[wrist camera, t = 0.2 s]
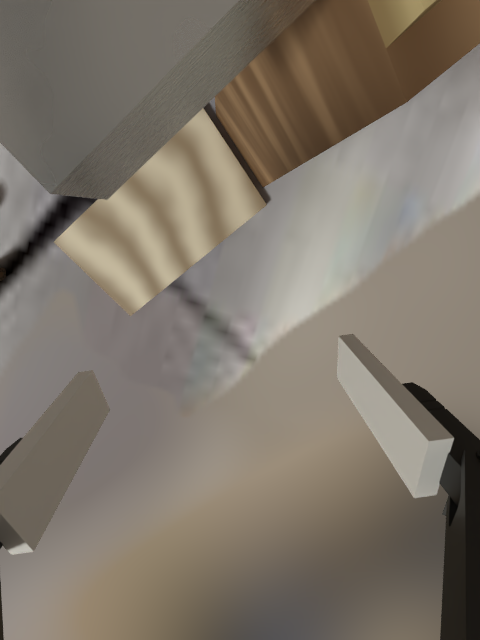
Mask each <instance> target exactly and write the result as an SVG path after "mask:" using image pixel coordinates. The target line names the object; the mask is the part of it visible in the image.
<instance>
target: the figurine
mask: <svg viewBox="0 0 480 640" xmlns="http://www.w3.org/2000/svg"><path fill="white" fill-rule="evenodd" d="M5 277H6V271H5V269H4V268H1V267H0V281H1V280H3V279H4V278H5Z"/></svg>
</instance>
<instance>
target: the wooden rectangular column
mask: <svg viewBox="0 0 480 640" xmlns="http://www.w3.org/2000/svg"><path fill="white" fill-rule="evenodd" d="M479 43H480V0H316V1H314V2H313V3H312V4H311V5H310V6H309V7H308V8H307V9H306V10H305V11H304V12H303V13H302V14H301V15H300V16H299V17H298V18H297V19H296V20H295V21H294V22H293V23H291V24H290V25H289V26H288V27H287V28H286V29H285V30H284V31H283V32H282V33H281V34H280V35H279V36H278V37H277V38H276V39H275V40H274V41H273V42H272V43H271V44H270V45H268V46H267V47H266V48H265V49H264V50H263V51H262V52H261V53H260V54H259V55H258V56H257V57H256V58H255V59H254V60H253V61H252V62H251V63H250V64H249V65H248V66H247V67H245V68H244V69H243V70H242V71H241V72H240V73H239V74H238V75H237V76H236V77H235V78H234V79H233V80H232V81H231V82H230V83H229V84H228V85H227V86H226V87H225V88H224V89H222V90H221V91H220V92H219V93H218V94H217V95H216V96H215V105H216V116H217V117H218V119H219V120H220V122H221V123H222V125H223V127H224V128H225V130H226V131H227V133H228V134H229V136H230V137H231V139H232V141H233V142H234V144H235V145H236V147H237V148H238V150H239V151H240V153H241V154H242V156H243V158H244V159H245V161H246V162H247V164H248V165H249V167H250V168H251V170H252V171H253V173H254V175H255V176H256V178H257V179H258V181H259V182H260V184H261V185H262V187H265V186H266V185H268V184H270V183H271V182H273V181H275V180H276V179H278V178H280V177H281V176H283V175H285V174H286V173H288V172H290V171H292V170H293V169H295V168H297V167H298V166H300V165H302V164H303V163H305V162H307V161H308V160H310V159H312V158H313V157H315V156H317V155H319V154H320V153H322V152H324V151H325V150H327V149H329V148H330V147H332V146H334V145H335V144H337V143H339V142H340V141H342V140H344V139H345V138H347V137H349V136H351V135H352V134H354V133H356V132H357V131H359V130H361V129H362V128H364V127H366V126H367V125H369V124H371V123H372V122H374V121H376V120H378V119H379V118H381V117H383V116H384V115H386V114H388V113H389V112H391V111H393V110H394V109H396V108H398V107H399V106H401V105H403V104H404V103H406V102H408V101H409V100H410V99H411V98H413V97H414V96H415V95H416V94H417V93H419V92H420V91H421V90H422V89H424V88H425V87H426V86H427V85H429V84H430V83H431V82H432V81H434V80H435V79H436V78H437V77H439V76H440V75H441V74H442V73H444V72H445V71H446V70H447V69H448V68H450V67H451V66H452V65H453V64H455V63H456V62H457V61H458V60H460V59H461V58H462V57H463V56H465V55H466V54H467V53H468V52H470V51H471V50H472V49H473V48H474V47H476V46H477V45H478V44H479Z"/></svg>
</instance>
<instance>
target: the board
mask: <svg viewBox="0 0 480 640" xmlns="http://www.w3.org/2000/svg"><path fill="white" fill-rule="evenodd" d="M266 205H267V204H266V203H265V201H264V200H263V198H262V197H261V195H260V194H259V192H258V191H257V189H256V188H255V186H254V185H253V183H252V182H251V180H250V179H249V177H248V175H247V174H246V172H245V171H244V169H243V168H242V166H241V165H240V163H239V162H238V160H237V159H236V157H235V156H234V154H233V153H232V151H231V150H230V148H229V147H228V145H227V144H226V142H225V140H224V139H223V137H222V136H221V134H220V133H219V131H218V130H217V128H216V127H215V125H214V124H213V122H212V121H211V119H210V118H209V116H208V115H207V113H206V112H205V110H204V108H203V109H202V110H201V111H199V112H198V113H197V114H196V115H195V116H194V117H193V118H192V119H191V120H190V121H189V122H188V123H187V124H186V125H185V126H184V127H183V128H182V129H181V130H180V131H179V132H178V133H177V134H175V135H174V136H173V137H172V138H171V139H170V140H169V141H168V142H167V143H166V144H165V145H164V146H163V147H162V148H161V149H160V150H159V151H158V152H157V153H156V154H155V155H154V156H152V157H151V158H150V159H149V160H148V161H147V162H146V163H145V164H144V165H143V166H142V167H141V168H140V169H139V170H138V171H137V172H136V173H135V174H134V175H133V176H132V177H131V178H129V179H128V180H127V181H126V182H125V183H124V184H123V185H122V186H121V187H120V188H119V189H118V190H117V191H116V192H115V193H114V194H113V195H112V196H111V197H110V198H109V199H108V200H105V199H98V200H97V201H96V202H95V203H94V204H93V205H91V206H90V207H89V208H88V209H87V210H86V211H85V212H84V213H83V214H82V215H81V216H80V217H79V218H78V219H77V220H76V221H75V222H74V223H73V224H72V225H71V226H70V227H69V228H68V229H67V230H66V231H65V232H64V233H63V234H61V235H60V236H59V237H58V238H57V239H56V240H55V241H54V243H55V244H56V245H57V246H58V247H59V248H61V249H62V250H63V251H64V252H65V253H66V254H67V255H68V256H69V257H70V258H71V259H72V260H73V261H74V262H75V263H76V264H77V265H78V266H79V267H80V268H81V269H82V270H83V271H84V272H85V273H86V274H87V275H89V276H90V277H91V278H92V279H93V280H94V281H95V282H96V283H97V284H98V285H99V286H100V287H101V288H102V289H103V290H104V291H105V292H106V293H107V294H108V295H109V296H110V297H111V298H112V299H113V300H114V301H115V302H117V303H118V304H119V305H120V306H121V307H122V308H123V309H124V310H125V311H126V312H127V313H128V314H129V315H130V316H131V315H133V314H134V313H135V312H136V311H137V310H139V309H140V308H141V307H142V306H144V305H145V304H146V303H147V302H148V301H150V300H151V299H152V298H153V297H155V296H156V295H157V294H158V293H160V292H161V291H162V290H163V289H164V288H166V287H167V286H168V285H169V284H171V283H172V282H173V281H174V280H175V279H177V278H178V277H179V276H180V275H182V274H183V273H184V272H185V271H186V270H188V269H189V268H190V267H191V266H193V265H194V264H195V263H196V262H197V261H199V260H200V259H201V258H202V257H204V256H205V255H206V254H207V253H208V252H210V251H211V250H212V249H213V248H215V247H216V246H217V245H218V244H220V243H221V242H222V241H223V240H224V239H226V238H227V237H228V236H229V235H231V234H232V233H233V232H234V231H235V230H237V229H238V228H239V227H240V226H242V225H243V224H244V223H245V222H246V221H248V220H249V219H250V218H251V217H253V216H254V215H255V214H256V213H257V212H259V211H260V210H261V209H262V208H264V207H265V206H266Z"/></svg>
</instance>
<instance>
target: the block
mask: <svg viewBox="0 0 480 640" xmlns="http://www.w3.org/2000/svg"><path fill="white" fill-rule="evenodd" d="M314 1H316V0H0V143H1V144H2V145H3V146H4V147H5V148H6V149H7V150H8V151H9V152H10V153H11V154H12V155H13V156H14V157H15V158H16V159H17V160H18V161H19V162H20V163H21V164H22V165H23V166H24V167H25V168H26V170H27V171H28V172H29V173H30V174H31V175H32V176H33V177H34V178H35V179H36V180H37V181H38V182H39V183H40V184H41V185H42V186H43V187H44V188H45V189H46V190H47V191H48V192H49V193H50V194H57V195H67V196H76V197H86V198H96V199H105V200H108V199H109V198H110V197H111V196H112V195H113V194H114V193H115V192H116V191H117V190H118V189H119V188H120V187H121V186H122V185H123V184H124V183H125V182H126V181H127V180H128V179H129V178H131V177H132V176H133V175H134V174H135V173H136V172H137V171H138V170H139V169H140V168H141V167H142V166H143V165H144V164H145V163H146V162H147V161H148V160H149V159H150V158H151V157H152V156H154V155H155V154H156V153H157V152H158V151H159V150H160V149H161V148H162V147H163V146H164V145H165V144H166V143H167V142H168V141H169V140H170V139H171V138H172V137H173V136H174V135H175V134H177V133H178V132H179V131H180V130H181V129H182V128H183V127H184V126H185V125H186V124H187V123H188V122H189V121H190V120H191V119H192V118H193V117H194V116H195V115H196V114H197V113H198V112H199V111H201V110H202V109H203V108H204V107H205V106H206V105H207V104H208V103H209V102H210V101H211V100H212V99H213V98H214V97H215V96H216V95H217V94H218V93H219V92H220V91H221V90H222V89H224V88H225V87H226V86H227V85H228V84H229V83H230V82H231V81H232V80H233V79H234V78H235V77H236V76H237V75H238V74H239V73H240V72H241V71H242V70H243V69H244V68H245V67H247V66H248V65H249V64H250V63H251V62H252V61H253V60H254V59H255V58H256V57H257V56H258V55H259V54H260V53H261V52H262V51H263V50H264V49H265V48H266V47H267V46H268V45H270V44H271V43H272V42H273V41H274V40H275V39H276V38H277V37H278V36H279V35H280V34H281V33H282V32H283V31H284V30H285V29H286V28H287V27H288V26H289V25H290V24H291V23H293V22H294V21H295V20H296V19H297V18H298V17H299V16H300V15H301V14H302V13H303V12H304V11H305V10H306V9H307V8H308V7H309V6H310V5H311V4H312V3H313V2H314Z"/></svg>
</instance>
